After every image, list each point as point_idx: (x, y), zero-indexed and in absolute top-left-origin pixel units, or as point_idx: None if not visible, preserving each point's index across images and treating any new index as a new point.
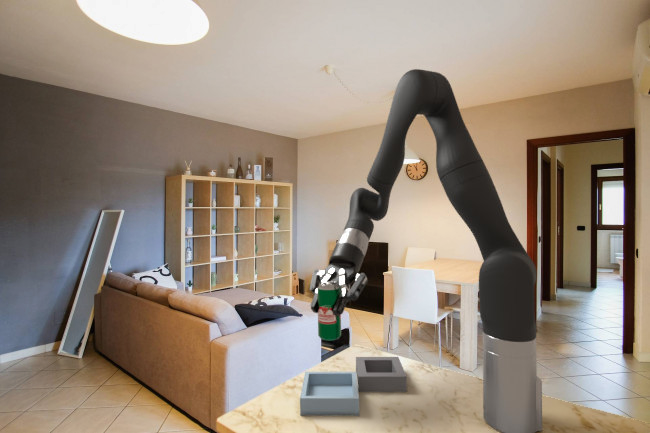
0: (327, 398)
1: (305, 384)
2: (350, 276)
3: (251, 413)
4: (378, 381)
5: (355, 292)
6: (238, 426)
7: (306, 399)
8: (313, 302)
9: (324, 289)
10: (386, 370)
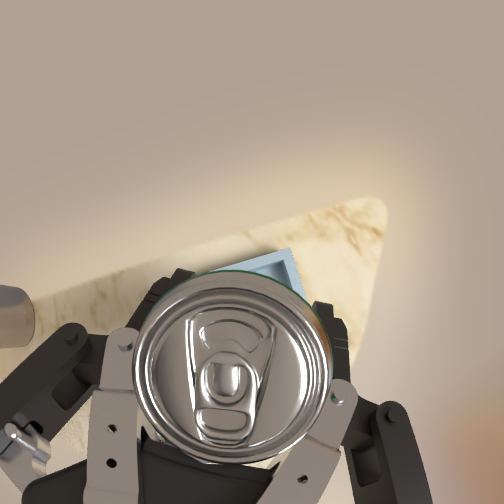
0: (236, 263)
1: None
2: (56, 473)
3: (366, 235)
4: None
5: (73, 395)
6: (363, 199)
7: (277, 251)
8: (331, 325)
9: (237, 272)
10: (168, 444)
